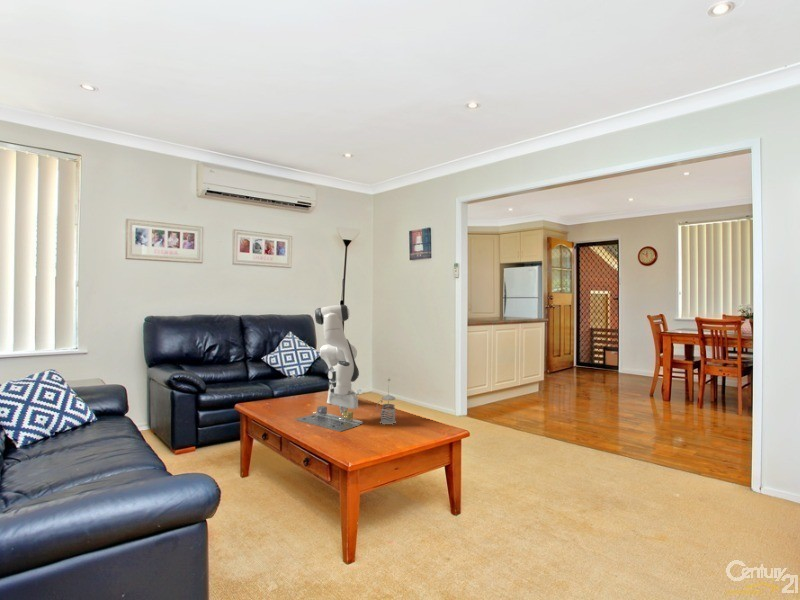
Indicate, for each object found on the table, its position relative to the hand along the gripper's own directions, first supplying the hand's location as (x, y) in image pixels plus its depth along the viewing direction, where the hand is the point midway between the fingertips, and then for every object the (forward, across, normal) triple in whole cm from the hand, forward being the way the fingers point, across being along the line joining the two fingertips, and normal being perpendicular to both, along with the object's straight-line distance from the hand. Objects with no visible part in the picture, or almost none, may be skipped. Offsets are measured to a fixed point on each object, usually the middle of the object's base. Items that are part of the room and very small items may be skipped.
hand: (343, 414), depth 264 cm
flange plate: (+4, +4, +10) cm, 11 cm away
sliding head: (+2, -4, +2) cm, 5 cm away
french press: (+4, -21, -13) cm, 25 cm away
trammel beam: (+4, +4, +2) cm, 6 cm away
